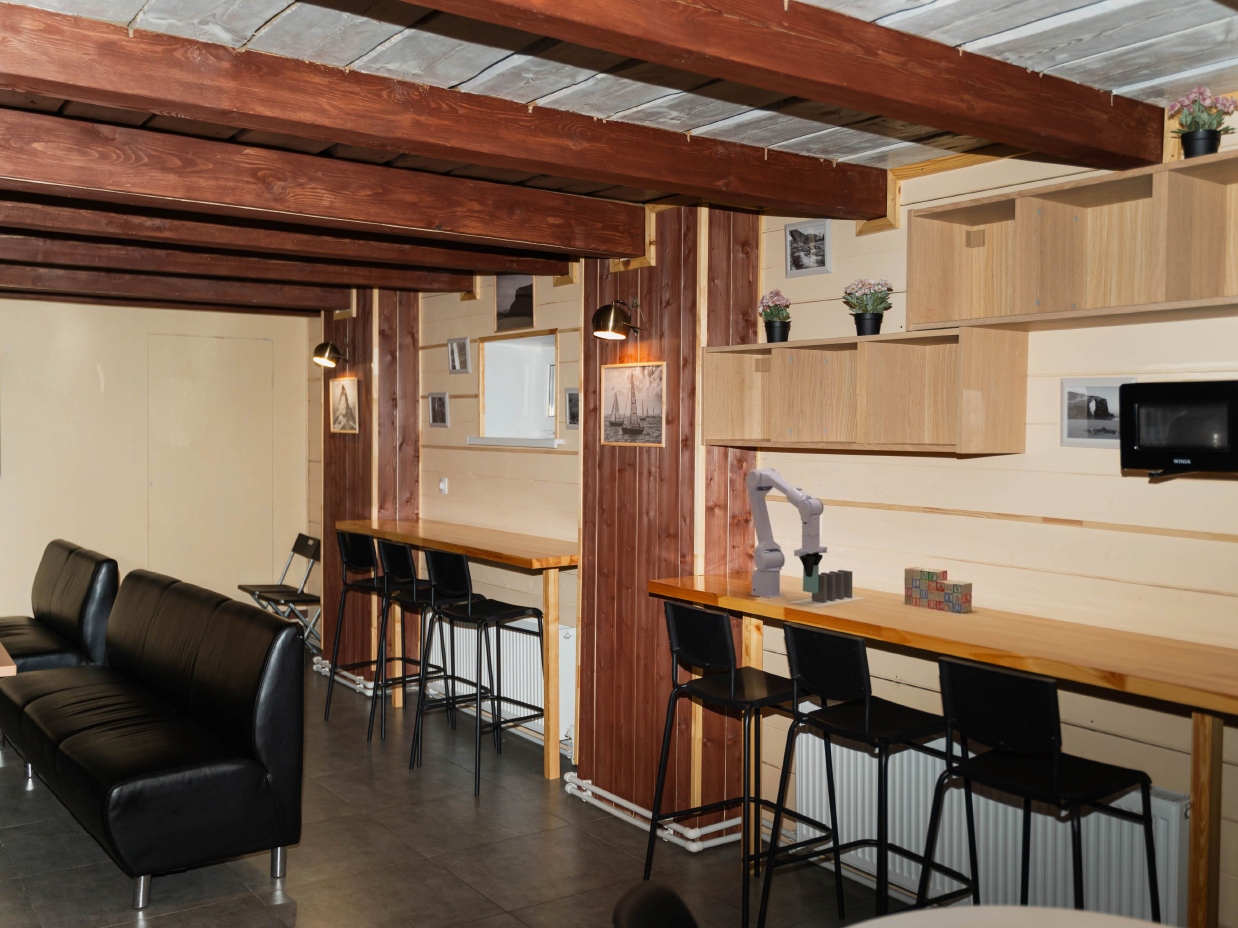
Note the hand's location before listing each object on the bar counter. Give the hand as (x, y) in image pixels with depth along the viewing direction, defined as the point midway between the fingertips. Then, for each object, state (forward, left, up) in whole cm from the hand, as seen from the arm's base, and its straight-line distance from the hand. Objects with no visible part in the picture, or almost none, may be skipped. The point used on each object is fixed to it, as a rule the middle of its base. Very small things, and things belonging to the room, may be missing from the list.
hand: (810, 576), depth 351 cm
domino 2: (0, +5, -9) cm, 10 cm away
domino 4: (0, +14, -9) cm, 16 cm away
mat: (0, +9, -9) cm, 13 cm away
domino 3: (0, +9, -9) cm, 13 cm away
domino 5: (0, +18, -9) cm, 20 cm away
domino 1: (0, 0, -5) cm, 5 cm away
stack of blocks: (+31, +26, -10) cm, 42 cm away
